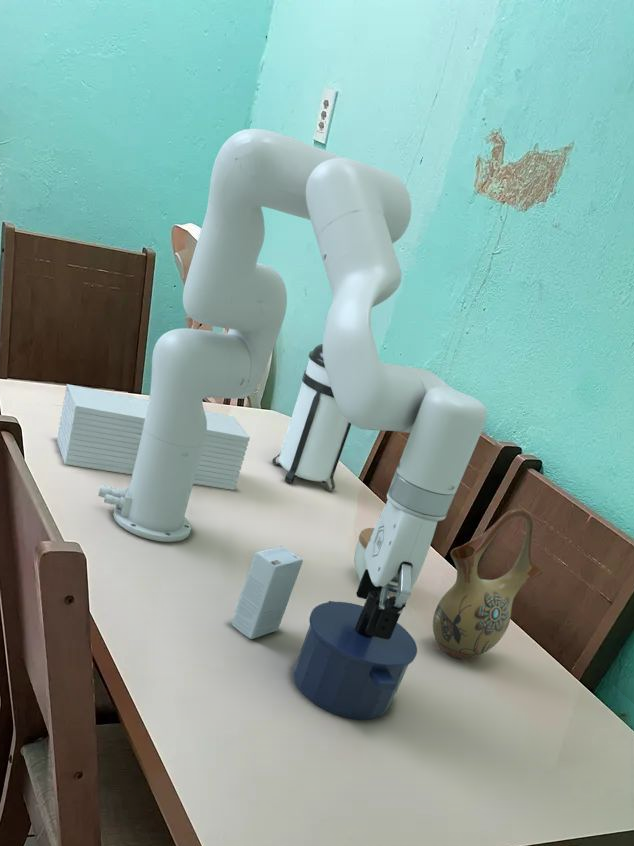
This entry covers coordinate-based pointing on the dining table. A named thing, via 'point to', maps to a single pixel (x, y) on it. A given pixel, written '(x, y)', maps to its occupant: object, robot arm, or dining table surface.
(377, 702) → the pot
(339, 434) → the coffee press
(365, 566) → the trinket box
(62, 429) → the white ridged box
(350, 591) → the dining table surface
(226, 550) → the dining table surface
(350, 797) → the dining table surface
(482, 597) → the ceramic vessel
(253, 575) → the cosmetic box
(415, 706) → the dining table surface
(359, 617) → the lid
